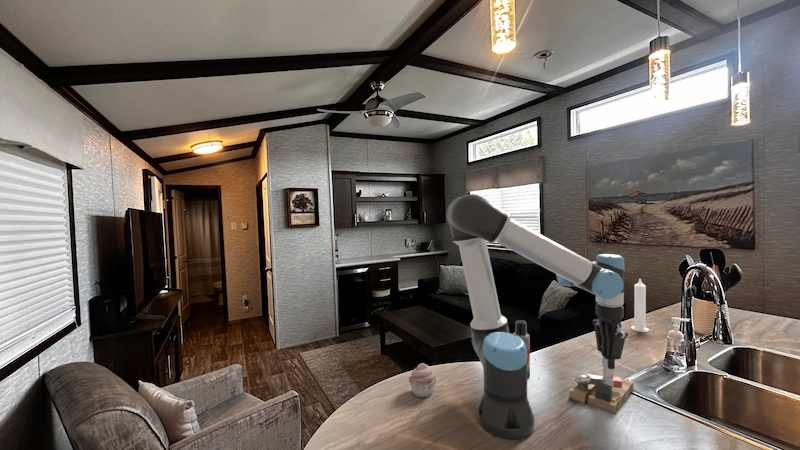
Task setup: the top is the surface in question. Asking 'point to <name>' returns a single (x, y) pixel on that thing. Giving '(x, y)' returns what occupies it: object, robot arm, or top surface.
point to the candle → (640, 308)
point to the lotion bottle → (522, 333)
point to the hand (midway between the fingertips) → (608, 377)
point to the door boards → (602, 394)
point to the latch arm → (597, 380)
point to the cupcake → (422, 381)
